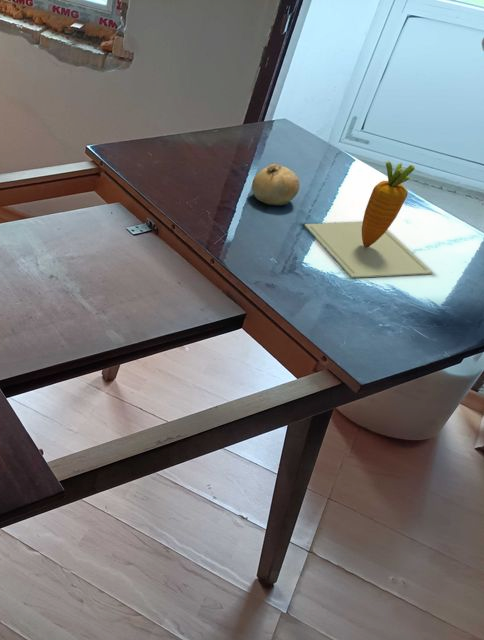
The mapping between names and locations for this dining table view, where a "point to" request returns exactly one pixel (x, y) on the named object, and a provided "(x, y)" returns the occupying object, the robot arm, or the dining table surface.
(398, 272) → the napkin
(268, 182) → the onion
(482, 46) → the robot arm
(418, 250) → the dining table surface
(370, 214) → the carrot
